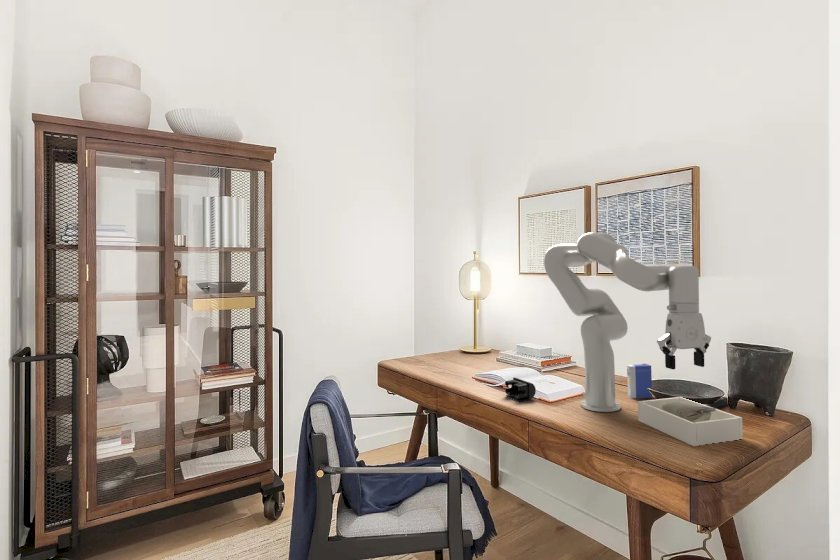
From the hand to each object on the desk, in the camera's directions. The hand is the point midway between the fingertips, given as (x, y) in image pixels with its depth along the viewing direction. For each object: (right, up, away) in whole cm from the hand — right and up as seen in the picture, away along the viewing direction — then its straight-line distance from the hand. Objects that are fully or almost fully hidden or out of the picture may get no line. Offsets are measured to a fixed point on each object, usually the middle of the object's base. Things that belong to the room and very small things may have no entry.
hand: (684, 367), depth 132 cm
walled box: (+1, -18, 0) cm, 18 cm away
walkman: (+3, -18, +34) cm, 38 cm away
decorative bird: (+1, -17, 0) cm, 17 cm away
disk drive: (+19, -18, +23) cm, 35 cm away
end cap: (-39, -19, +38) cm, 58 cm away
